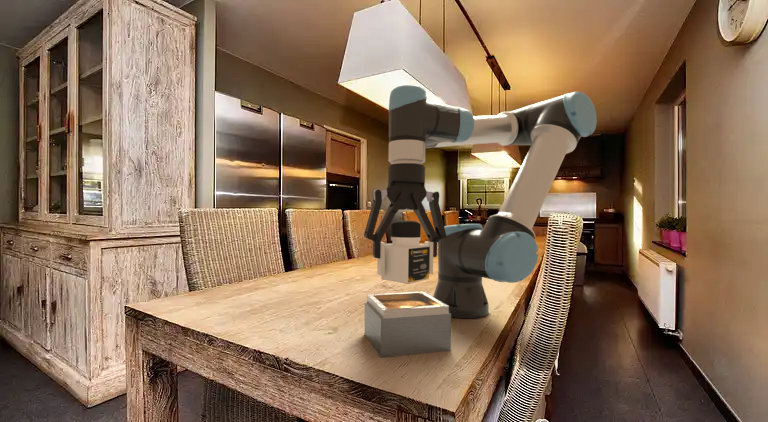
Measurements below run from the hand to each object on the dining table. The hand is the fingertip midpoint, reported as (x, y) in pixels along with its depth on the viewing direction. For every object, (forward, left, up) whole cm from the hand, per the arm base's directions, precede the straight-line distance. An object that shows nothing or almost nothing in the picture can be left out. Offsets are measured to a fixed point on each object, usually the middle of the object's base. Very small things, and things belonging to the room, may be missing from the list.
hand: (405, 273), depth 74 cm
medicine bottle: (0, 0, -1) cm, 1 cm away
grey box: (0, 0, -14) cm, 14 cm away
